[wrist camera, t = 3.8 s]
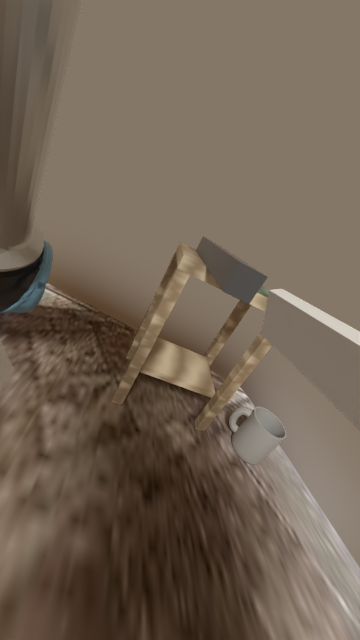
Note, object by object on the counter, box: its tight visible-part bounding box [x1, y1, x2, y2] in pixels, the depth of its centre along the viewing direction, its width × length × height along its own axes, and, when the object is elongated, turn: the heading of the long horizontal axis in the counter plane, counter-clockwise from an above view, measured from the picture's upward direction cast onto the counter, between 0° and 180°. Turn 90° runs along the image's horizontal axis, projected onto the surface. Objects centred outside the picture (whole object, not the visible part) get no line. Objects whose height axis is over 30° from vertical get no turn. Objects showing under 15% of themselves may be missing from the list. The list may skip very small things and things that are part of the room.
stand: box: [112, 242, 272, 431], centre depth 44 cm, size 20×16×30 cm
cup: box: [229, 407, 286, 465], centre depth 45 cm, size 7×10×9 cm
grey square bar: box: [196, 237, 267, 304], centre depth 32 cm, size 3×26×3 cm, turn 1°
